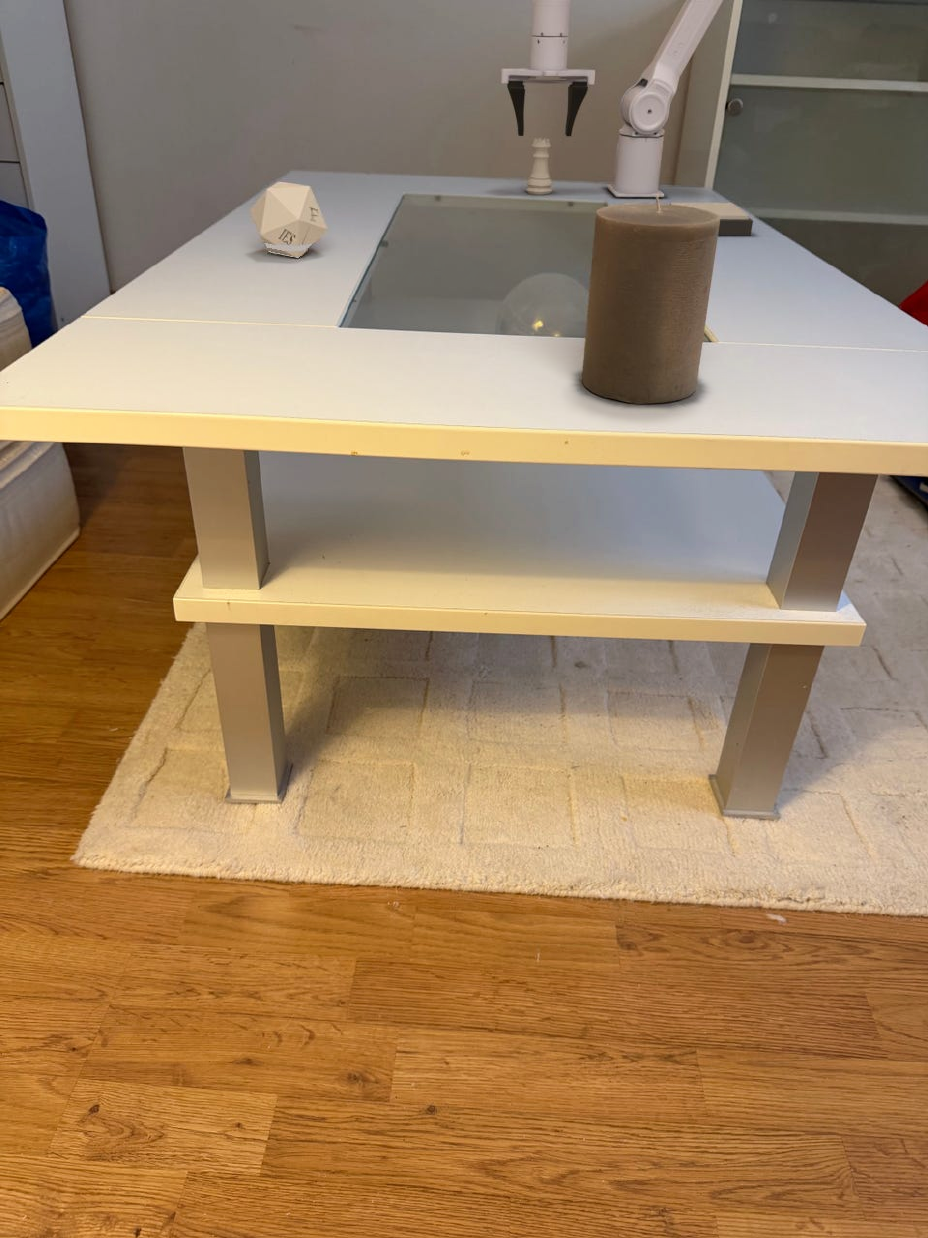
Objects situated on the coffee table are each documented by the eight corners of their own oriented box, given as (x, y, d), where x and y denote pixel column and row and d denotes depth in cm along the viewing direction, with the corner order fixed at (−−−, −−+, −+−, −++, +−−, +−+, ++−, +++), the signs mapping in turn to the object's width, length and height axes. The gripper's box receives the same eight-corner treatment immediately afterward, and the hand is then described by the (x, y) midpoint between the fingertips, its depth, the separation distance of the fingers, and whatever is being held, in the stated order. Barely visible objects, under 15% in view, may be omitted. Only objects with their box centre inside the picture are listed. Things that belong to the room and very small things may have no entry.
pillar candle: (619, 411, 76) (640, 210, 68) (561, 373, 83) (573, 188, 75) (720, 395, 79) (751, 201, 71) (655, 359, 87) (677, 181, 78)
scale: (663, 220, 140) (665, 201, 138) (730, 220, 140) (733, 201, 138) (679, 235, 131) (681, 215, 129) (750, 235, 131) (754, 215, 130)
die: (261, 270, 115) (305, 201, 110) (224, 221, 118) (265, 151, 113) (309, 282, 122) (352, 218, 117) (273, 236, 125) (314, 171, 120)
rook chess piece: (553, 194, 156) (556, 140, 151) (526, 194, 156) (528, 140, 152) (551, 190, 160) (554, 137, 155) (525, 189, 160) (527, 136, 155)
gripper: (504, 36, 141) (501, 138, 149) (601, 37, 142) (593, 138, 149) (501, 34, 147) (498, 132, 155) (593, 35, 148) (586, 133, 155)
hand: (544, 135), depth 152 cm, fingers open, 7 cm apart
